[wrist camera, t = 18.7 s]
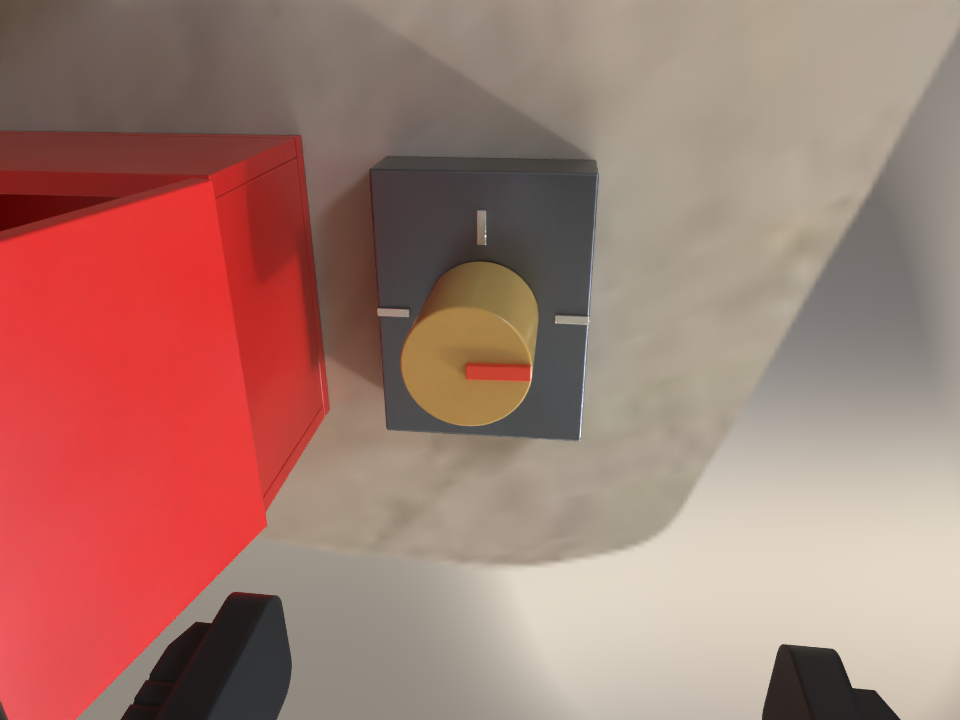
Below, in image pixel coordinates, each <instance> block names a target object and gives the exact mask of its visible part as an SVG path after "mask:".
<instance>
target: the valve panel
mask: <svg viewBox="0 0 960 720" xmlns="http://www.w3.org/2000/svg"><path fill="white" fill-rule="evenodd" d="M369 172H370V188H371V203H372V218H373V233H374V248H375V263H376V278H377V293H378V308H377V315H378V316H379V323H380V338H381V353H382V368H383V383H384V398H385V413H386V428H387V430H397V431H414V432H431V433H448V434H465V435H482V436H499V437H515V438H532V439H549V440H566V441H580V440H581V429H582V414H583V399H584V385H585V370H586V356H587V341H588V326H589V312H590V297H591V283H592V268H593V253H594V239H595V224H596V210H597V195H598V181H599V174H598V168H597V162H596V161H595V160H561V159H507V158H454V157H401V156H387V157H386V158H384V159H383V160H382V161H380V162H379V163H378V164H376V165H375V166H374V167H372V168H371V169H370V171H369ZM469 262H490V263H495V264H498V265H501V266H504V267H506V268H508V269H510V270H511V271H513V272H514V273H516V274H517V275H518V276H519V277H521V278H522V279H523V280H524V281H525V283H526V284H527V285H528V286H529V288H530V289H531V291H532V293H533V295H534V297H535V300H536V303H537V307H538V316H539V318H538V329H537V338H536V347H535V356H534V365H533V374H532V380H531V385H530V388H529V390H528V393H527V395H526V396H525V398H524V400H523V401H522V402H521V404H520V405H519V406H518V407H517V408H516V409H515V410H514V411H513V412H511V413H510V414H509V415H507V416H506V417H504V418H502V419H500V420H498V421H495V422H493V423H490V424H486V425H480V426H460V425H455V424H451V423H448V422H445V421H442V420H440V419H438V418H436V417H434V416H432V415H431V414H429V413H428V412H426V411H425V410H424V409H423V408H421V407H420V406H419V405H418V404H417V403H416V401H415V400H414V399H413V398H412V396H411V395H410V393H409V391H408V390H407V388H406V385H405V383H404V381H403V377H402V374H401V367H400V357H401V350H402V347H403V344H404V341H405V339H406V337H407V335H408V333H409V331H410V329H411V327H412V325H413V323H414V321H415V320H416V318H417V316H418V314H419V312H420V310H421V308H422V306H423V304H424V302H425V300H426V298H427V296H428V294H429V293H430V291H431V289H432V287H433V286H434V284H435V283H436V281H437V280H438V279H439V278H440V277H441V276H442V275H443V274H444V273H446V272H447V271H449V270H450V269H452V268H454V267H456V266H458V265H461V264H464V263H469Z"/></svg>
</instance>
